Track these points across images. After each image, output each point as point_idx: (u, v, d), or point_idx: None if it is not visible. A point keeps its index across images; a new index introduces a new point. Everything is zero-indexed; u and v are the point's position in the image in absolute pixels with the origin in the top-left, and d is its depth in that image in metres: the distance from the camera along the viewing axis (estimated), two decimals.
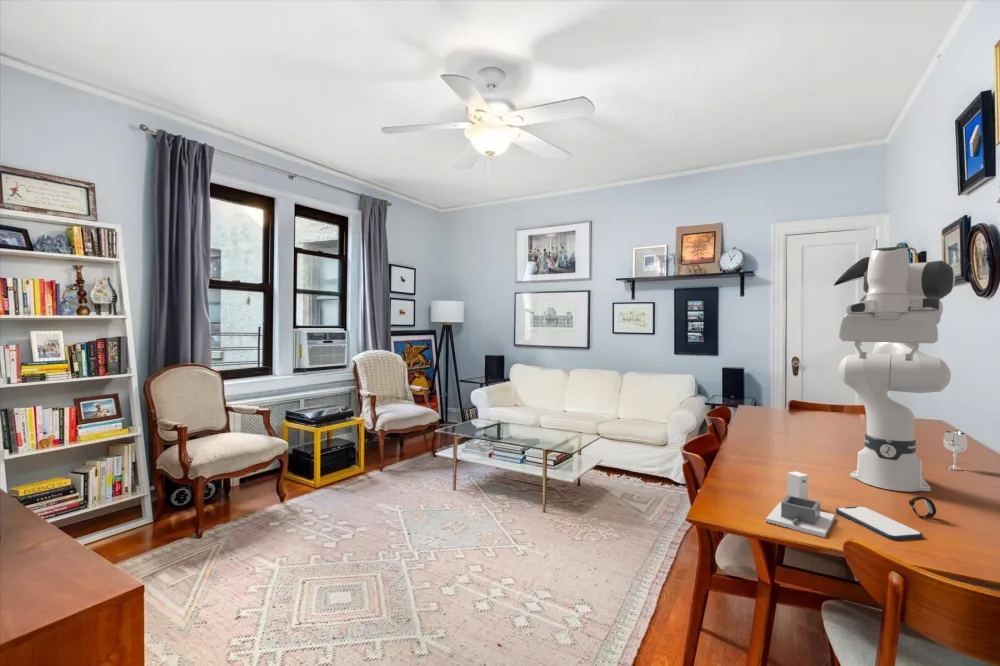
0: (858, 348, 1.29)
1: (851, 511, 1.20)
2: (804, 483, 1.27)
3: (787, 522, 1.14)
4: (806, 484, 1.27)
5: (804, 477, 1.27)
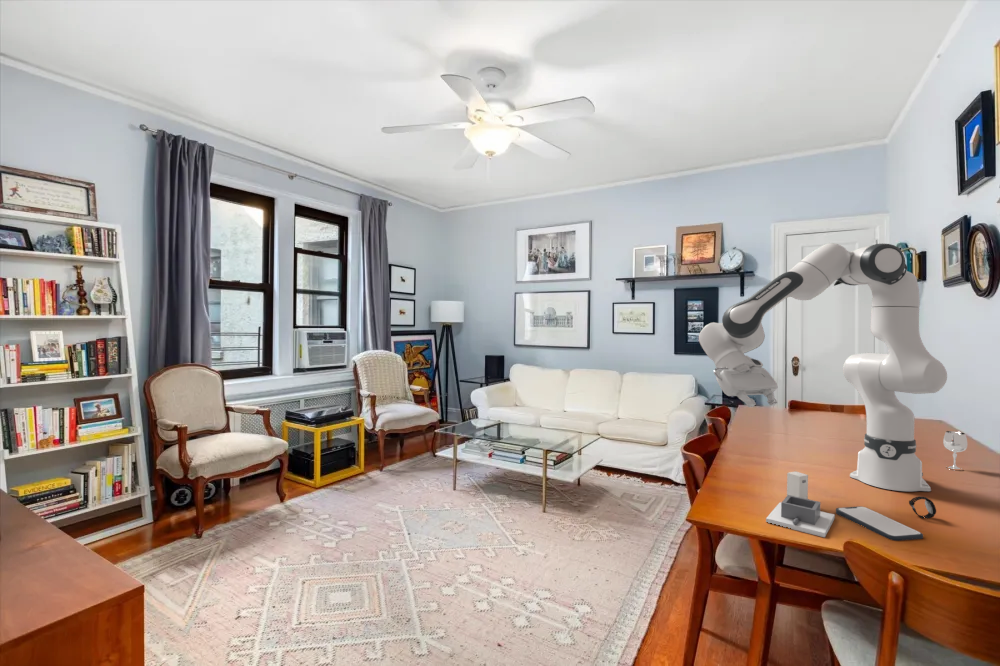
0: None
1: (851, 511, 1.20)
2: (804, 483, 1.27)
3: (787, 522, 1.14)
4: (806, 484, 1.27)
5: (804, 477, 1.27)
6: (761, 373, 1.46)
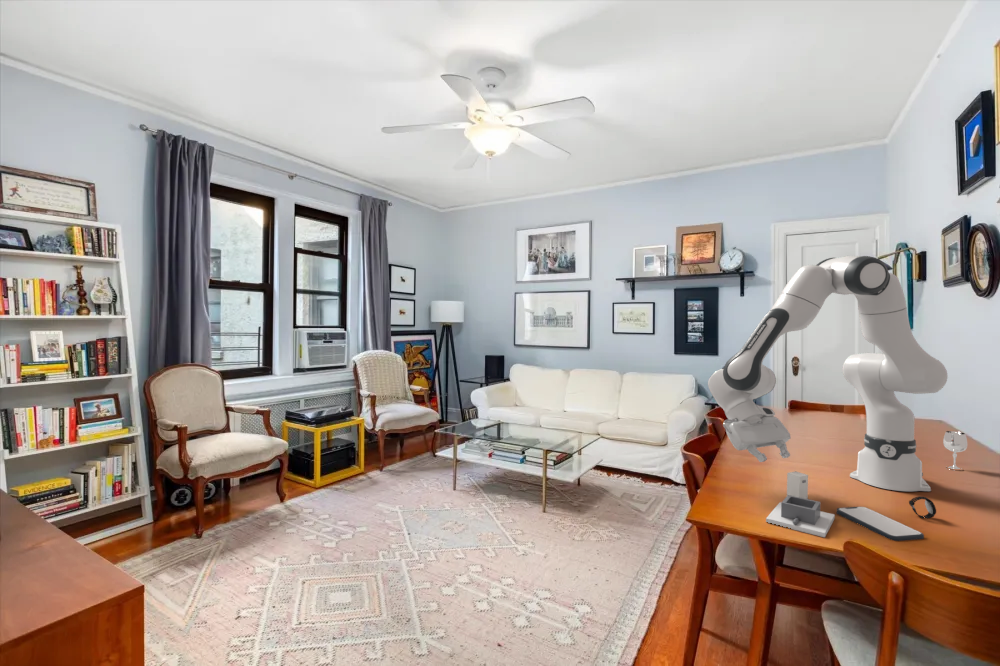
0: None
1: (852, 511, 1.20)
2: (804, 483, 1.27)
3: (787, 522, 1.14)
4: (806, 484, 1.27)
5: (804, 477, 1.27)
6: (773, 422, 1.42)
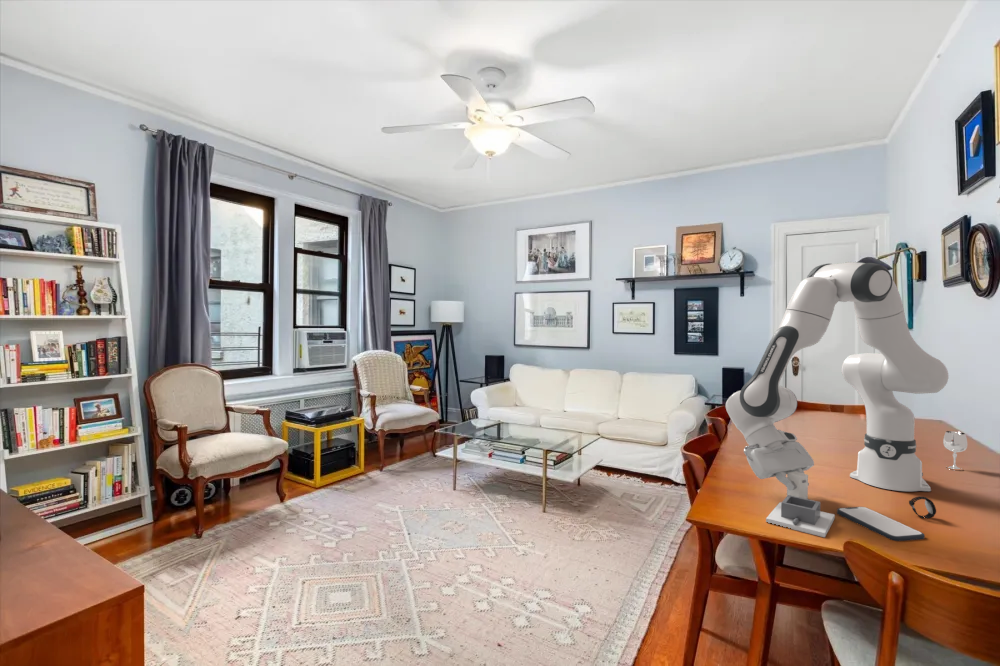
0: None
1: (852, 511, 1.20)
2: (804, 483, 1.27)
3: (787, 522, 1.14)
4: (806, 484, 1.27)
5: (804, 477, 1.27)
6: (795, 448, 1.36)
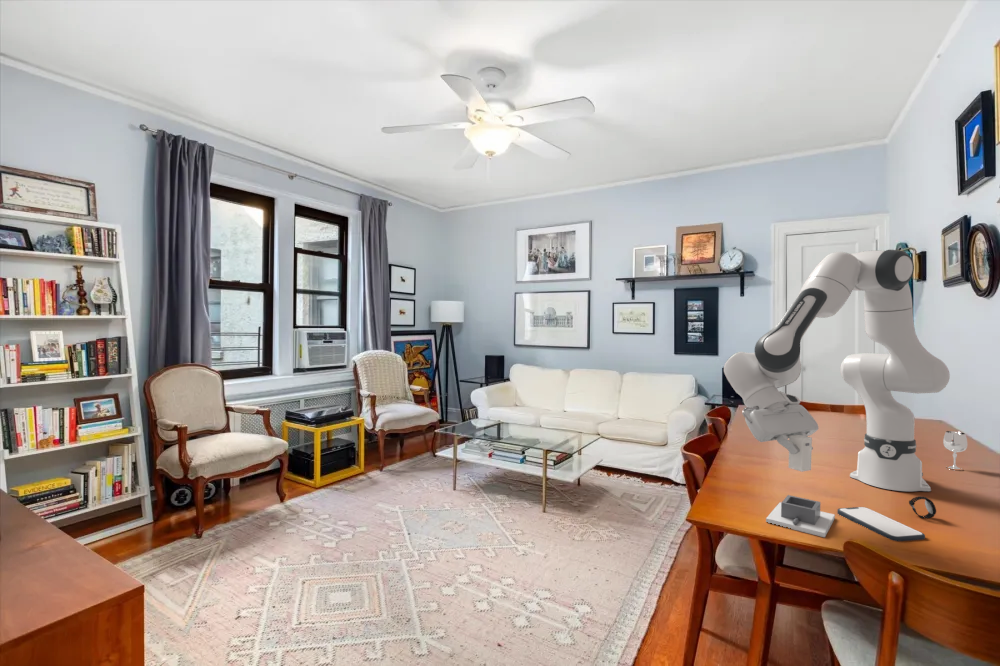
0: None
1: (853, 512, 1.20)
2: (807, 446, 1.17)
3: (787, 522, 1.14)
4: (810, 447, 1.17)
5: (807, 440, 1.17)
6: (798, 411, 1.26)
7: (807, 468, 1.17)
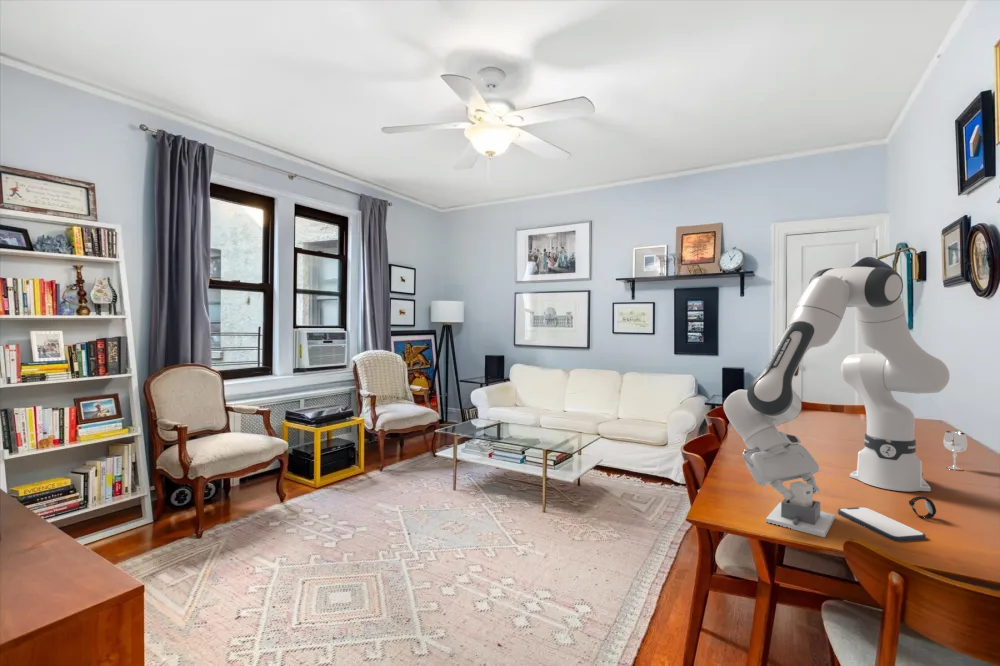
0: None
1: (853, 512, 1.20)
2: (808, 494, 1.16)
3: (787, 522, 1.14)
4: (811, 495, 1.17)
5: (808, 488, 1.16)
6: (799, 452, 1.25)
7: None
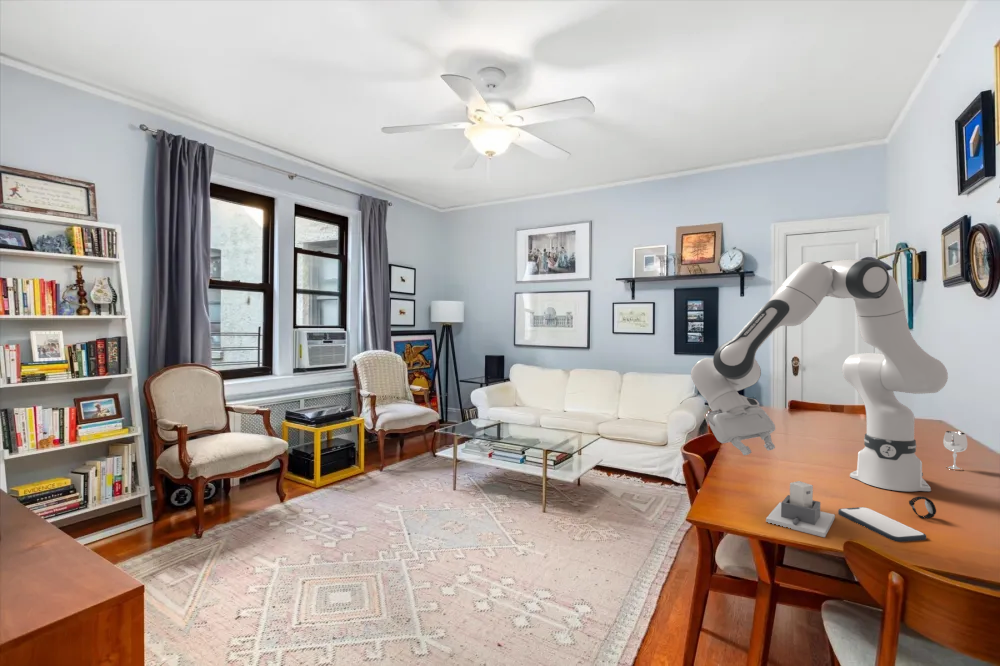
0: None
1: (854, 512, 1.20)
2: (808, 494, 1.16)
3: (787, 522, 1.14)
4: (811, 495, 1.17)
5: (808, 488, 1.16)
6: (757, 413, 1.37)
7: None
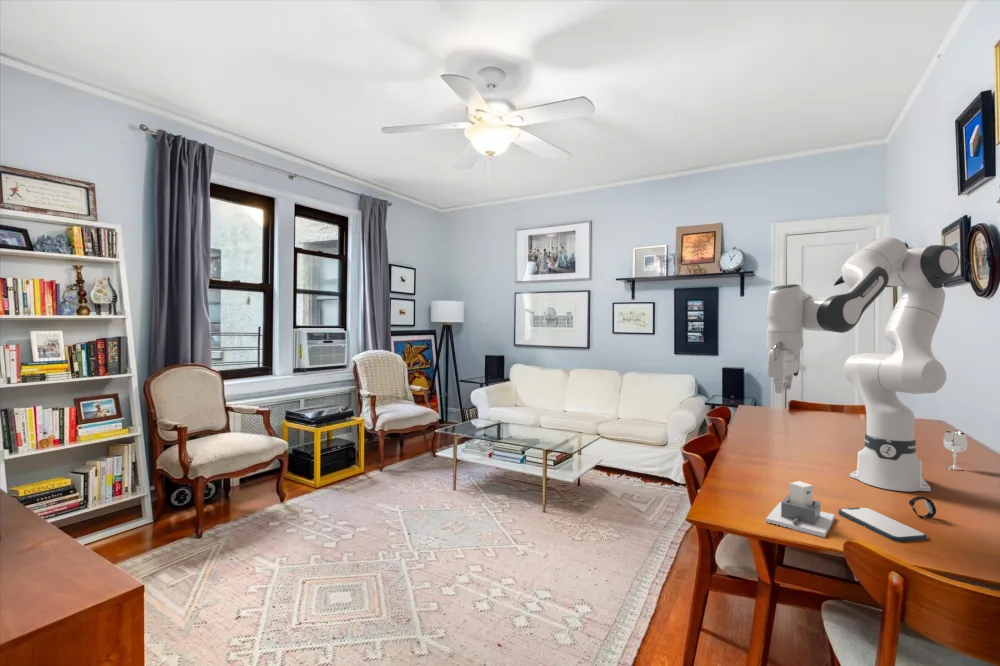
0: (784, 379, 1.40)
1: (854, 512, 1.20)
2: (808, 494, 1.16)
3: (787, 522, 1.14)
4: (811, 495, 1.17)
5: (808, 488, 1.16)
6: None
7: None
